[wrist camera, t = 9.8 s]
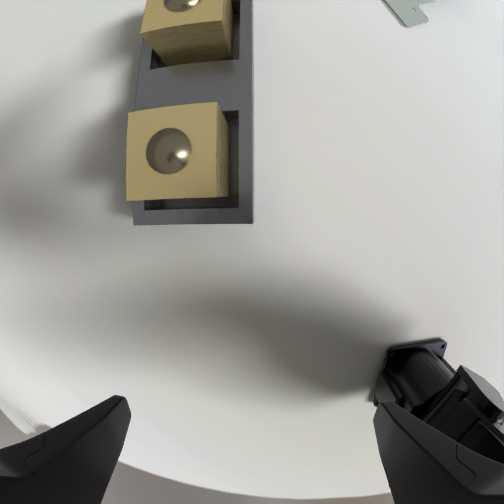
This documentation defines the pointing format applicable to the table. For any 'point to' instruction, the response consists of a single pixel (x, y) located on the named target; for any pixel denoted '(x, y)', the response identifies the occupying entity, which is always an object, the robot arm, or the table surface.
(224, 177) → the block
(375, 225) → the table surface
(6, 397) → the table surface
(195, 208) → the grey slotted tray
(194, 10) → the tan knobbed block
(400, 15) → the metal bracket
